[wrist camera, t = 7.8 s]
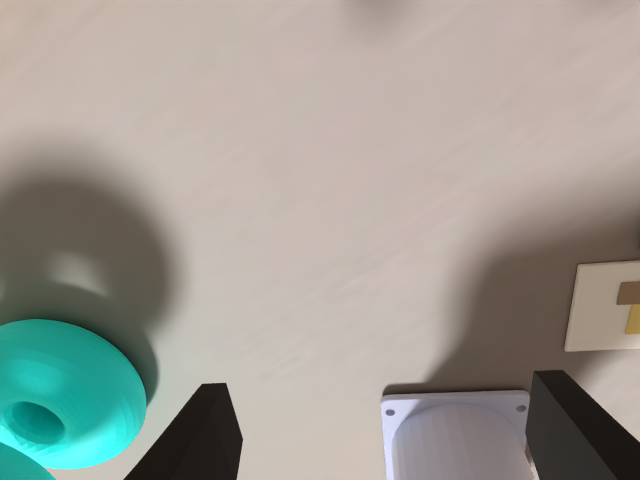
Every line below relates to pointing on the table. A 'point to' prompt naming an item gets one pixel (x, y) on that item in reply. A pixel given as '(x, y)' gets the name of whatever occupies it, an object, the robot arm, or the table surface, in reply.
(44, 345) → the donuts
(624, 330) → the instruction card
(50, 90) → the table surface
